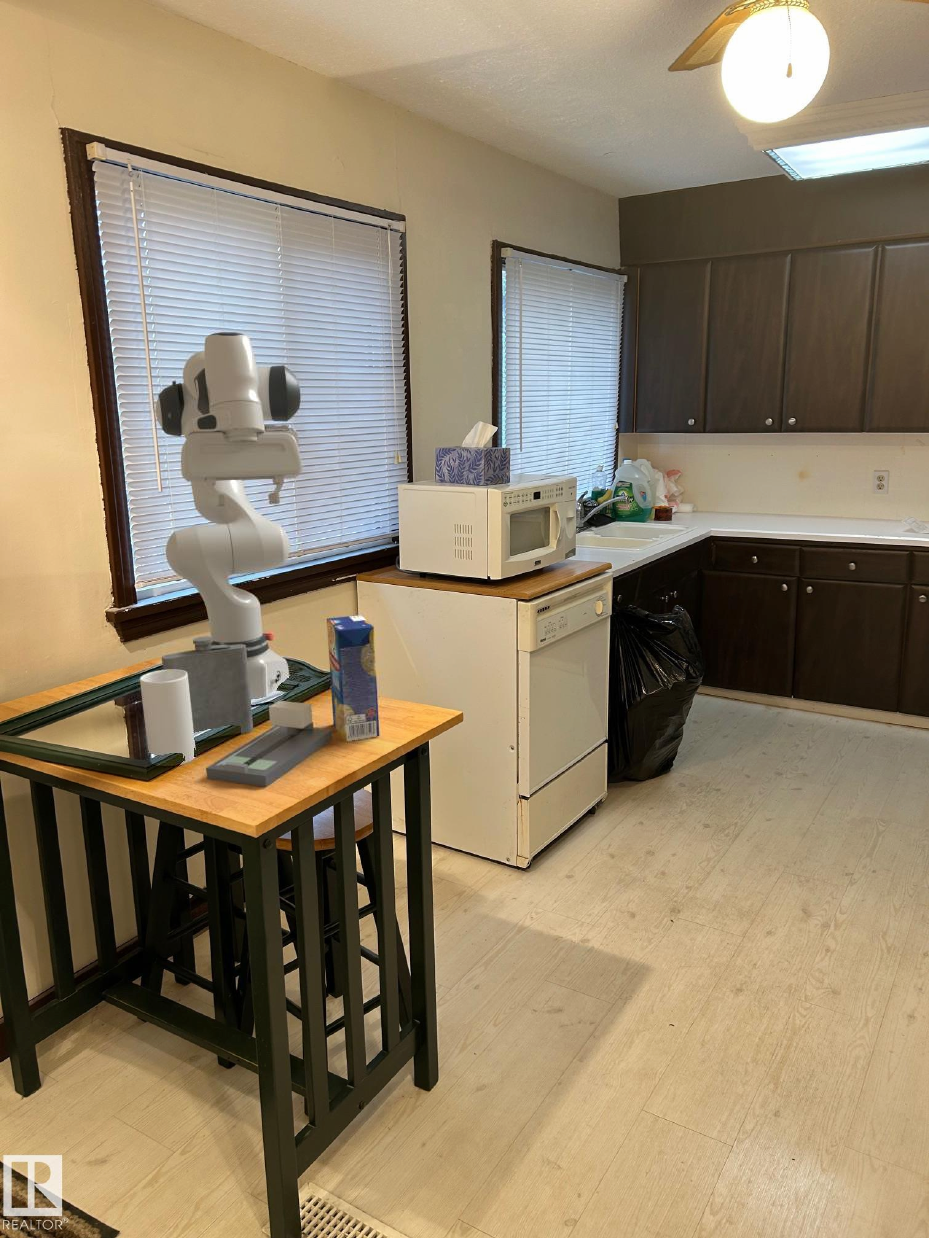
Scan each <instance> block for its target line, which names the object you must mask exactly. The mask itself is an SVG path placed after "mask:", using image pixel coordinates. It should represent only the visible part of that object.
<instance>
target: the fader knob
mask: <svg viewBox="0 0 929 1238" xmlns="http://www.w3.org/2000/svg"><path fill="white" fill-rule="evenodd" d="M268 713H269V725H270V726H275V725H277V726H285V727H287V734H294V733H296V732H297V728H304V727H306V726H307V725H309V724H310V723H312V722H313V711H312V703H303V702H292V701H284V700H280V701H278V702H274V703H272V704H271V705H269V706H268Z"/></svg>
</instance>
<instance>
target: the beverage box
mask: <svg viewBox="0 0 929 1238" xmlns="http://www.w3.org/2000/svg"><path fill="white" fill-rule="evenodd" d="M326 629H327V645H328V646H327V648H328V656H329V657H328V660H329V661H328V663H329V673H330V676H329V678H330V691H331V692H330V693H331V706H332V720H333V726H334V727H335V729H336V730H337V732H338V734H339V735H340V737H341V738H342V740H343V741H344V742H345V743H347V741H348V742H353V741H352V740H355V741H359V740H358V739H361V740H366V739H365V738H368V739H370V738H369V737H375V738H377V737H376V736H380V724H379V723H380V722H379V721H380V720H379V719H380V718H379V717H380V716H379V703H378V702H379V701H378V699H379V698H378V685H377V684H378V683H377V682H378V681H377V665H376V664H377V663H376V662H377V661H376V646H375V645H376V644H375V626H374V625H373V624H371V623H370V622H369V621H368V620H367V619H366V618H365V617H364V616H362V614H358V615H350V616H349V615H348V616H338V617H329V618H326Z"/></svg>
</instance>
